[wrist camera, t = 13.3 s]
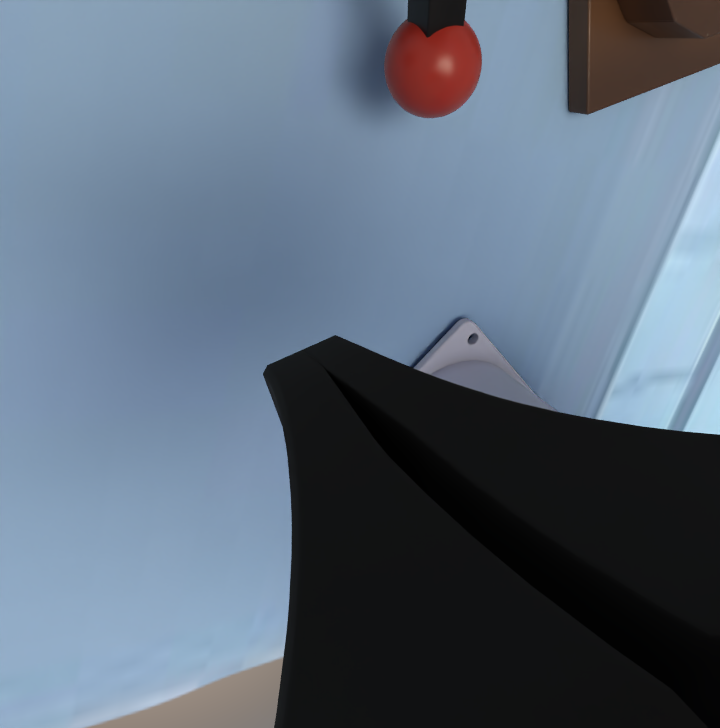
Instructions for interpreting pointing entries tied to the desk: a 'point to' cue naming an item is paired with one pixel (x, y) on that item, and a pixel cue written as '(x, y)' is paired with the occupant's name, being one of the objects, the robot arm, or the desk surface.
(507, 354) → the desk surface
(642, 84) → the control block
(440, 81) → the red knob lever
